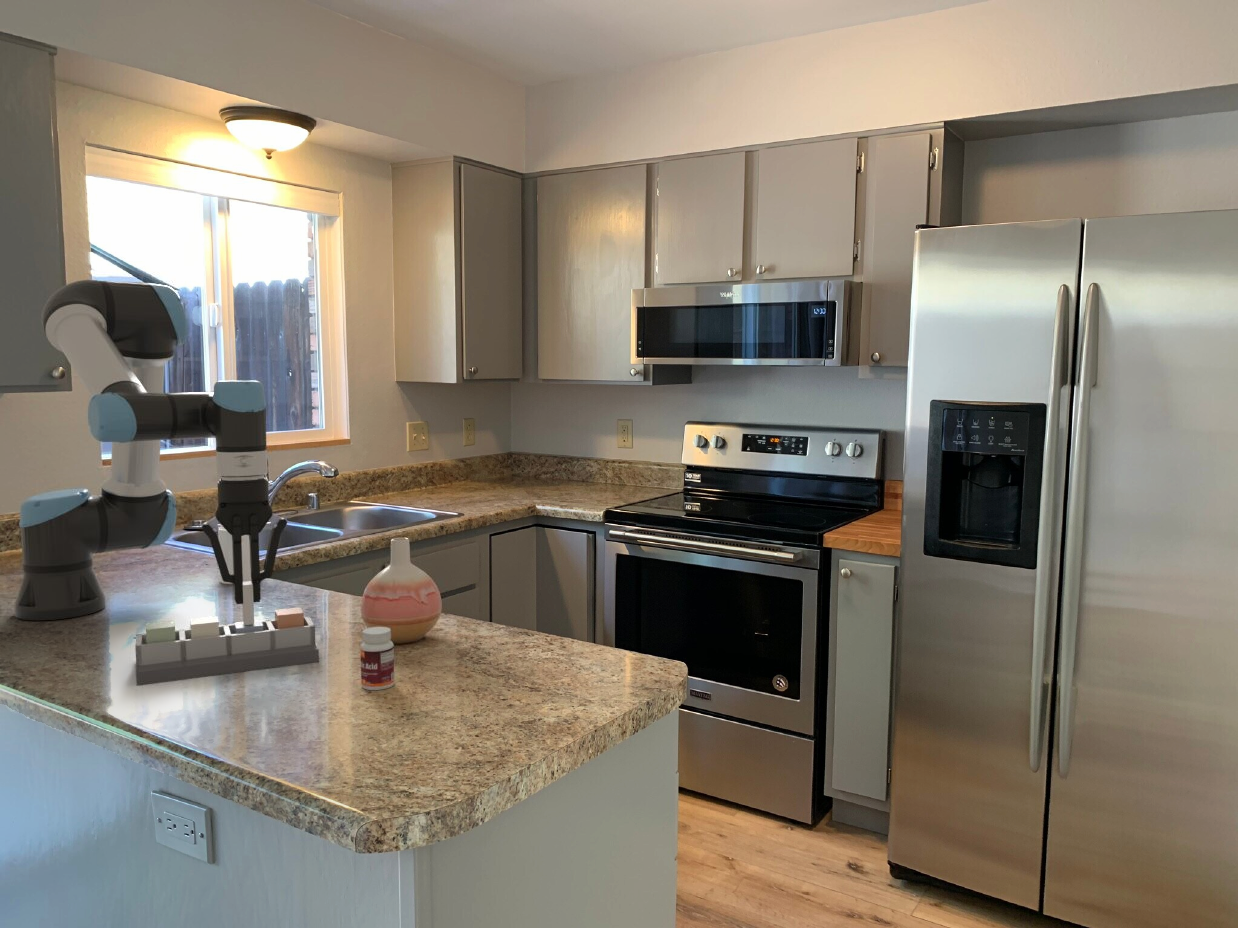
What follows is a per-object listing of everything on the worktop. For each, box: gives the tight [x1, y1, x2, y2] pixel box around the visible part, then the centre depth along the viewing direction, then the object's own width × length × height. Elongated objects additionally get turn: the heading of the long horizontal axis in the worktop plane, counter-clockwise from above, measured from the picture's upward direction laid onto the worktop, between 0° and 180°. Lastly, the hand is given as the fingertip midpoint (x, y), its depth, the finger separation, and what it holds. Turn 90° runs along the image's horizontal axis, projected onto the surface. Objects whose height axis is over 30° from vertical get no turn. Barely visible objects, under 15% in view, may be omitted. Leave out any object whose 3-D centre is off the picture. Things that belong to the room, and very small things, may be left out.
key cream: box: [189, 615, 220, 639], centre depth 148 cm, size 4×4×3 cm
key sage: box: [145, 620, 176, 644], centre depth 146 cm, size 4×4×3 cm
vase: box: [360, 537, 443, 645], centre depth 162 cm, size 14×14×18 cm
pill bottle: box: [359, 627, 395, 691], centre depth 138 cm, size 5×5×8 cm
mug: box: [217, 526, 251, 585], centre depth 208 cm, size 12×8×12 cm
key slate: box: [233, 619, 263, 634], centre depth 151 cm, size 4×4×3 cm
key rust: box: [274, 607, 305, 629], centre depth 154 cm, size 4×4×3 cm
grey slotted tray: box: [134, 615, 320, 686], centre depth 150 cm, size 26×14×5 cm, turn 116°
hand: (248, 622), depth 151 cm, fingers closed
